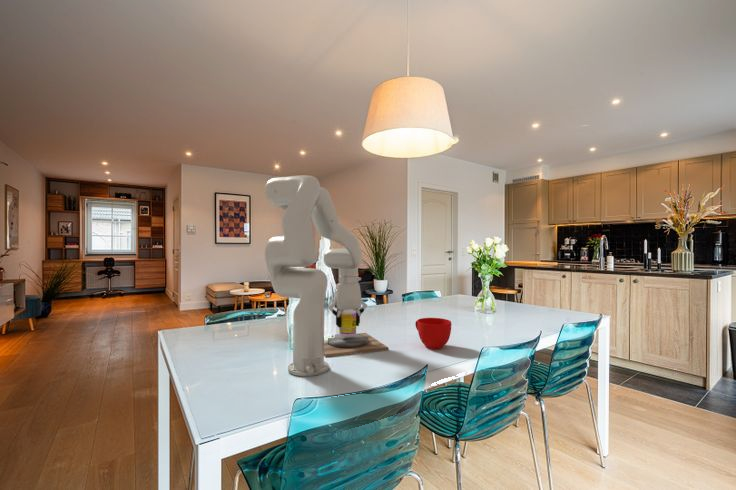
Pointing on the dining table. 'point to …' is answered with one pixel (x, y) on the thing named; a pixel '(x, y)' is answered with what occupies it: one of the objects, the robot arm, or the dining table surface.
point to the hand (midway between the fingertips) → (347, 325)
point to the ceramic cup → (434, 332)
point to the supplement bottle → (348, 323)
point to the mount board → (359, 350)
